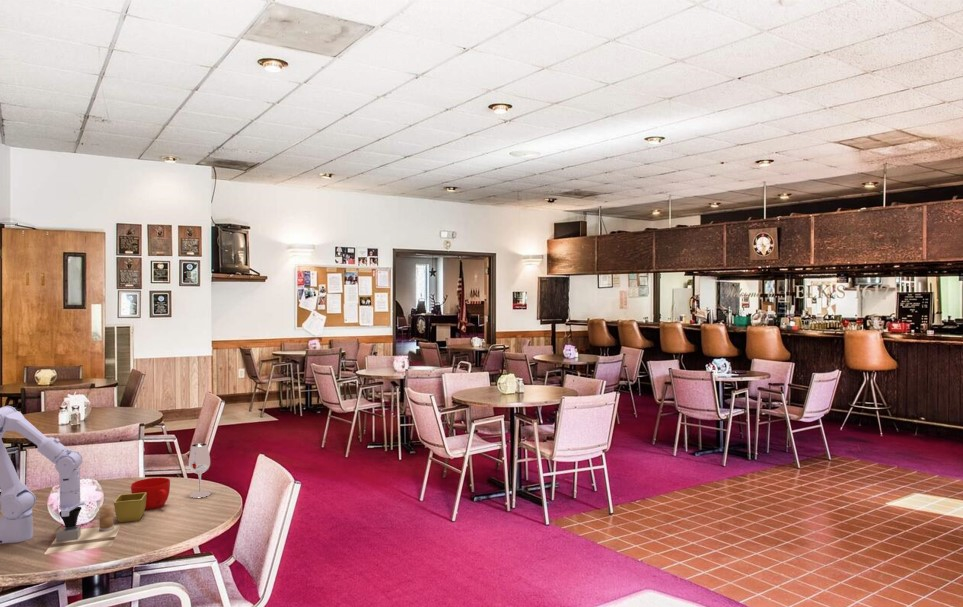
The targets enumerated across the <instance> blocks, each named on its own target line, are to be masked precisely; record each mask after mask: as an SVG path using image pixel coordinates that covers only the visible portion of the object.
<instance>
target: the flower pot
mask: <svg viewBox="0 0 963 607" xmlns="http://www.w3.org/2000/svg"><path fill="white" fill-rule="evenodd" d="M146 494H147V493H146V492H145V493H135V494H132V493H126V494H125V493H124V494H119V495H118V497H117V498H116V499H115V500H114V502H113V508H114V512H115V515H116V519H117V520H118V522H119V523H124V522H136V521H140V520H141V518H142V517H143V516H144V513H145V510H146V509H145V506H146Z"/></svg>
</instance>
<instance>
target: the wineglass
mask: <svg viewBox="0 0 963 607" xmlns="http://www.w3.org/2000/svg"><path fill="white" fill-rule="evenodd" d="M210 466H211V456H210V451H209V447H208V444H207V443H206V442H205V443H203V442H200V443H194V444H192V445H191V446H190V451H189V458H188V468H189V469H190V471H191V472H192V473H194V474H197V475H198V491H197V492H192V493H191V494H189V498H191V497H193V498H192V499H201V497H203V498H206V496H207V497H209V496H210V495H211V492H210V491H202V474H203V473H205V472H207V471H208V470H209V468H210Z"/></svg>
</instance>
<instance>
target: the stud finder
mask: <svg viewBox="0 0 963 607" xmlns="http://www.w3.org/2000/svg"><path fill="white" fill-rule="evenodd" d="M81 529H82V528H81V525H76V526H74V527H66V528H65V527H59V528H58V529H57V530H56V532H55V538H56V542H60V541H68V540H76V539H78V538H79V537H80V535H81Z"/></svg>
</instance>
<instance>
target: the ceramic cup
mask: <svg viewBox="0 0 963 607" xmlns="http://www.w3.org/2000/svg"><path fill="white" fill-rule="evenodd" d="M170 487H171V479H170V478H167V477H151V478H150V477H148V478H144V479H140V480H136V481H134V482H132V483H131V484H130V492H131V493H130V494H135V493H145V492H146V493H147V494H146V506H145V510H154V509H157V508H160V507H163V506H164V505H165V503H166V502H167V501H168V498H169V495H170V489H171V488H170Z"/></svg>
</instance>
